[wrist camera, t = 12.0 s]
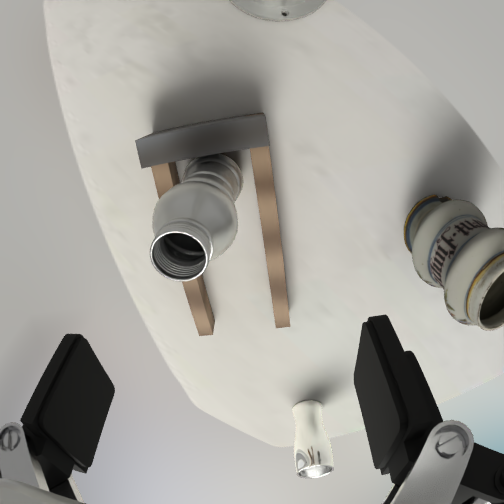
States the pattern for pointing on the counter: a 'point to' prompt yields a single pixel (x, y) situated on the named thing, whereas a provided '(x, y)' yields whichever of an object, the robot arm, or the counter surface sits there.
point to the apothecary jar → (459, 258)
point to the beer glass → (311, 441)
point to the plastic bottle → (196, 218)
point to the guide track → (256, 139)
